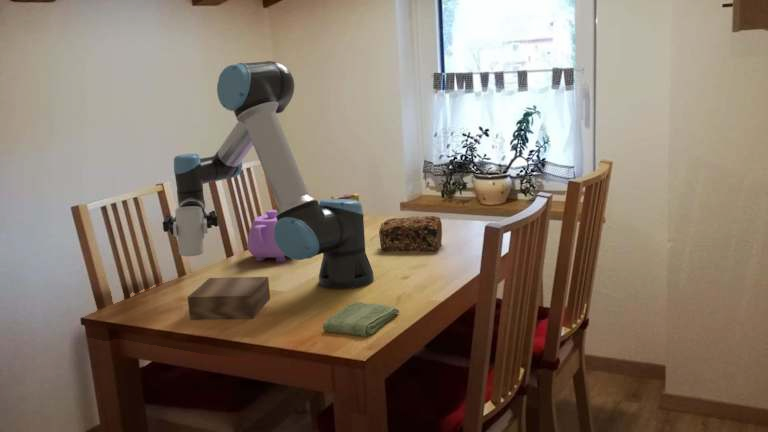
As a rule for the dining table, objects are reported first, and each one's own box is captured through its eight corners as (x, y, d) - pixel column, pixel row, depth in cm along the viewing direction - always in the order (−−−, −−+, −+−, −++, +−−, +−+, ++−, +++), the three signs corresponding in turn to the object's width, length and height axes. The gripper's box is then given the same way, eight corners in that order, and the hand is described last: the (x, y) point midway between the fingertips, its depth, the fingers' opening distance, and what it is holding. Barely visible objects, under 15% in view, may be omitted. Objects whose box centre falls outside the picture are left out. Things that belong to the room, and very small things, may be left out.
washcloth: (402, 314, 194) (401, 302, 194) (369, 340, 179) (368, 326, 178) (354, 309, 200) (353, 297, 199) (318, 334, 185) (317, 321, 184)
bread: (443, 243, 258) (441, 213, 256) (437, 252, 248) (436, 221, 246) (386, 244, 262) (385, 214, 260) (379, 252, 252) (377, 221, 250)
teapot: (294, 268, 239) (290, 219, 236) (235, 266, 246) (230, 218, 243) (320, 251, 257) (317, 205, 254) (264, 249, 264) (260, 205, 261)
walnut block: (270, 298, 212) (268, 276, 210) (252, 319, 196) (250, 295, 195) (211, 299, 214) (209, 277, 213) (190, 320, 198) (187, 297, 197)
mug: (194, 257, 207) (191, 211, 205) (172, 255, 210) (169, 210, 207) (216, 248, 216) (213, 204, 214) (195, 246, 219) (192, 203, 216)
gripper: (228, 222, 231) (231, 240, 209) (157, 230, 228) (152, 248, 206) (225, 197, 230) (228, 211, 208) (153, 204, 226) (148, 220, 204)
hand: (190, 230), depth 207 cm, fingers closed on mug, 7 cm apart
